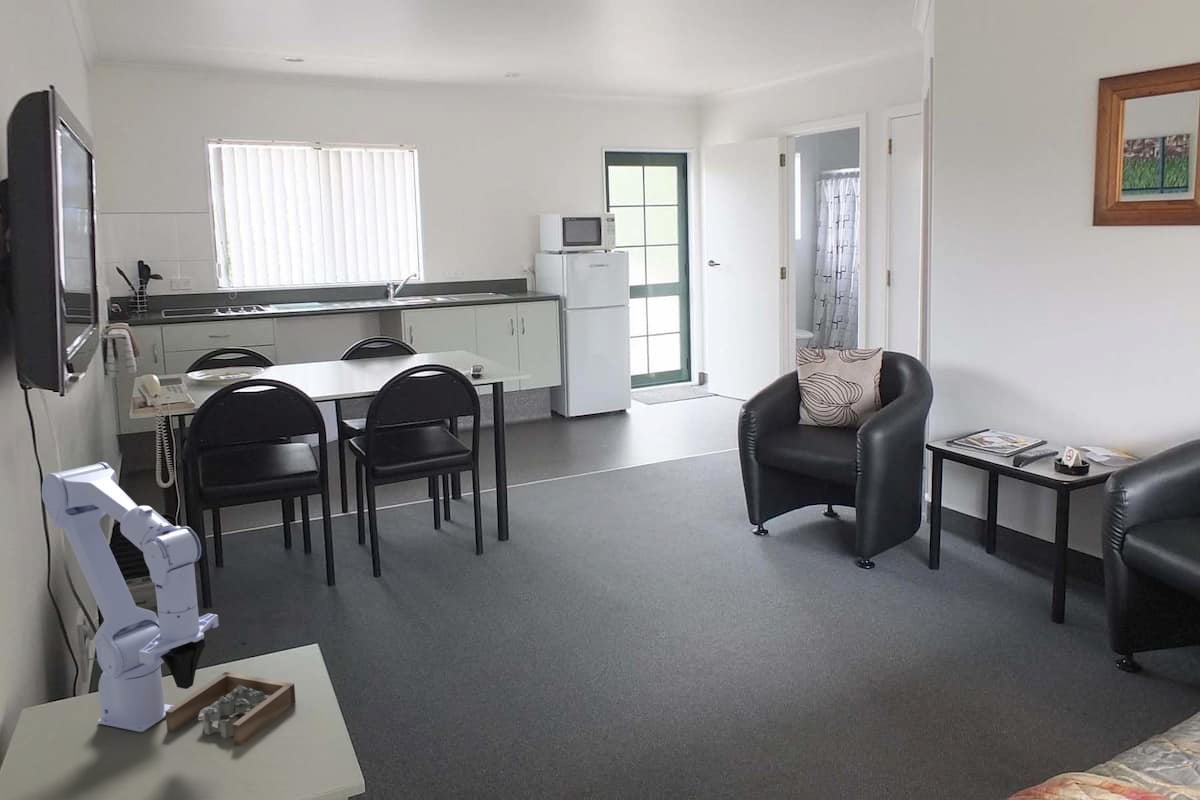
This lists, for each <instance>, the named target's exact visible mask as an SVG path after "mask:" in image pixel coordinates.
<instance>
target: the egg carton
mask: <svg viewBox="0 0 1200 800" xmlns="http://www.w3.org/2000/svg"><path fill="white" fill-rule="evenodd" d="M270 696H271V695H270V694H269V695H268V696H267V695H265V694H264V693H263V692H262V691H260V692H258V691H257V690H253V689H251V688H249V689H247V688H245V687H244V686H242V685H238V686H237V687H236V688H235V689H234V690H233V691H232V692H231V693H230V694H227V695H226V696H225V697H223V696H222V697H221V698H220V699H219V700H218V701H216V702H214V703H213V704H212V705H211V706H209V707H206V708H203V709H202V710H201V711H200V713H199V715H197V720H198V721H203V722H202V724H203V725H202V726H203V727H202V728H203V732H204V734H206V735H211V734H214V733H220V736H221V738H223V739H225V738H226V739H227V738H230V737H233V726H232V724H233V723H235V722H236V721H238V720H239V719H240V718H242V717H243V716H244V715H246V714H247V713H248V712H250V711H251V710H252V709H254V708H255V707H256V706H258V705H259V704H260V703H262V702H263V701H264V700H266V699H267V698H268V697H270ZM251 708H252V709H251ZM221 716H228V719H221Z"/></svg>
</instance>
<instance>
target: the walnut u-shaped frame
mask: <svg viewBox="0 0 1200 800" xmlns="http://www.w3.org/2000/svg"><path fill="white" fill-rule="evenodd" d="M238 685H242V686H244V687H245V688H247V689H249V688H251V689H253V690H257V691H258V692H260V691H262V692H263V693H264V694H265V695H267V696H268V695H269V694H270V695H271V696H270V697H268V698H267V699H266V700H264V701H263V702H262V703H260V704H259V705H258V706H256V707H255V708H254V709H251V711H250V712H248V713H247V714H246V715H244V716H243V717H242V718H240V719H239V720H238V721H236V722H235V723H233V724H232V726H233V735H232V737H233V745H234V746H242V745H243V744H244V743H247V741H248V740H249V739H251V738H252V737H253V736H254V735H257V733H259V732H260V731H261V730H263V728H265V727H266V726H267V725H269V724H271V722H272V721H274V720H275V719H277V718H278V717H280V715H281V714H282V713H283V714H284V712H286V711H287V710H288V709H289V708H290V707H292V706H293V705H294V704H295V703H296V691H295V683H292V682H287V681H281V680H275V679H269V678H263V677H257V676H252V675H245V674H241V673H234V672H228V671H224V672H223V673H222V674H220V675H219V676H217V677H215V678H214V679H212V680H211V681H209V682H208V683H206V684H204V685H203V686H201V687H199V689H197V690H196V691H193V693H191V694H190V695H188V696H187V697H185V698H183V699H182V700H180V701H179V702H177V703H176V704H175V705H173V707H171V708H170V709H168V710H167V711H165V713H166V717H165V720H166V722H165V723H166V729H167V732H171V733H174V732H176V731H178V730H179V729H180V728H182V727H183V726H185V725H186V724H187V723H189V722H190V721H191V720H193V719H194V718H197V717H198V716H199V713H200V711H201V710H202V709H203V708H206V707H209V706H211V705H212V704H213V703H214V702H216V701H218V700H219V699H220V698H221V697H222V696H223V697H224V696H225V697H226V695H227V694H230V693H231V692H232V691H233V690H234V689H235V688H236V687H237V686H238Z"/></svg>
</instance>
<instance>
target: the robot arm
mask: <svg viewBox="0 0 1200 800" xmlns="http://www.w3.org/2000/svg"><path fill="white" fill-rule="evenodd" d="M41 498H42V501H43V504H44V506H45V508H46V512H48V515H49V517H50V519H51V521H52V523H53V525H54V526H55V527H57V528H61V529H63V531H64V533H65V535H66V537H67V540H68V542H69V545H71V549H72V550H73V553H74V555H75V557H76V559H77V560H76V561H77V562H78V565H79V567H80V569H81V571H82V573H83V575H84V578H85V580H86V582H87V584H88V587H89V589H90V591H91V593H92V596H93V598H94V601H95V602H96V605H97V607H98V610H99V611H100V614H101V616H102V618H103V621H102V623H101V624H100V626H99V628H98V629H97V631H96V632H95V635H94V637H93V639H92V641H93V645H94V647H95V650H96V656H97V662H98V665H99V667H100V669H101V670H102V673H101V675H100V677H99V681H98V686H97V687H98V689H97V690H98V696H99V697H98V698H99V706H100V713H101V717H100V718H99V719H98V720H97V724H99V725H105V726H109V727H114V728H119V729H123V730H128V731H129V730H130V731H133V732H139V733H143V732H145V731H147V730H148V729H150V728H151V727H152V726H154V725H155V724H157V723H158V722H160V721H162V720H163V719H166V713H165V711H167V710H168V709H170V708H171V707H173V706H174V705H172V704H167V703H165V696H164V685H163V679H162V669H161V668H162V666H161V665H162V664H164V663H165V665H166V666H167V668H168V670H169V671H170V673H171V676H172V677H173V680H174V683H175V685H176V687H177V688H179V689H185V690H188V689H190V688H191V687H193V685H194V681H195V676H196V671H197V666H198V662H199V660H200V657H201V655H202V653H203V650H204V649H205V647H206V641H205V639H204V638H205V632H206V631H208V630H210V629H211V628H212V629H215V628H217V627H218V626H220V625H219V615H218V614H216V613H215V614H213V613H210V612H209V613H207V614H204V615H202V616H199V605H198V593H197V583H196V582H197V580H196V572H195V571H196V570H195V563H196V562H198V561H199V559H200V558H201V555H202V546H201V541H200V538H199V537H198V535H197V533H196V532H195V531H194V530H193V529H192V528H191V527H189V526H186V525H185V526H180V525H177V526H176V525H175V526H174V525H173V524H172V523H170V521H168V520H167V519H166V518H164V517H163V516H162V515H161V514H159V513H158V512H157V511H156V510H155V509H153V507H151V506H149V505H139V506H138V504H137V503H136V502H135V501H134V500H133V499H132V498H131V497H130V496H129V495H128V494H127V493H126V492H125V491H124V490H123V489H122V488H121V487H120V486H119V481H118V476H117V474H116V471H115V470H114V469H113V468H112V467H111V466H110V465H109V464H108V463H107V462H105V461H101V462H97V463H94V464H91V465H86V466H82V467H77V468H72V469H68V470H63V471H59V472H50V473H47V474H46V475H45V477H44V478H43V480H42V484H41ZM105 515H108V516H110V518H113V519H114V520H116V521H117V522H119V523H120V525H119V529H120V530H119V531H120V533H121V534H122V536H124V538H126V539H127V540H128V541H130V543H132V544H133V545H134V546H135V547H136V548H138V550H140V551H141V552H142V553H143V558H144V562H145V564H146V566H147V568H148V571H149V578H150V579H151V582H152V583H153V584H154V587H155V597H156V606H157V610H156V611H157V614H156V612H154V611H152V610H149V609H146V608H142V607H140V606H137V605H136V602H135V600H134V599H133V596H132V594H131V592H130V589H129V587H128V584H127V582H126V581H125V578H124V576H123V574H122V572H121V570H120V569H121V568H120V567H119V565H118V563H117V560H116V558H115V556H114V554H113V551H112V550H111V547H110V544H109V542H108V541H107V538H106V536H105V534H104V532H103V530H102V527H101V524H100V522H101V519H102V518H103V517H104V516H105Z"/></svg>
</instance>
